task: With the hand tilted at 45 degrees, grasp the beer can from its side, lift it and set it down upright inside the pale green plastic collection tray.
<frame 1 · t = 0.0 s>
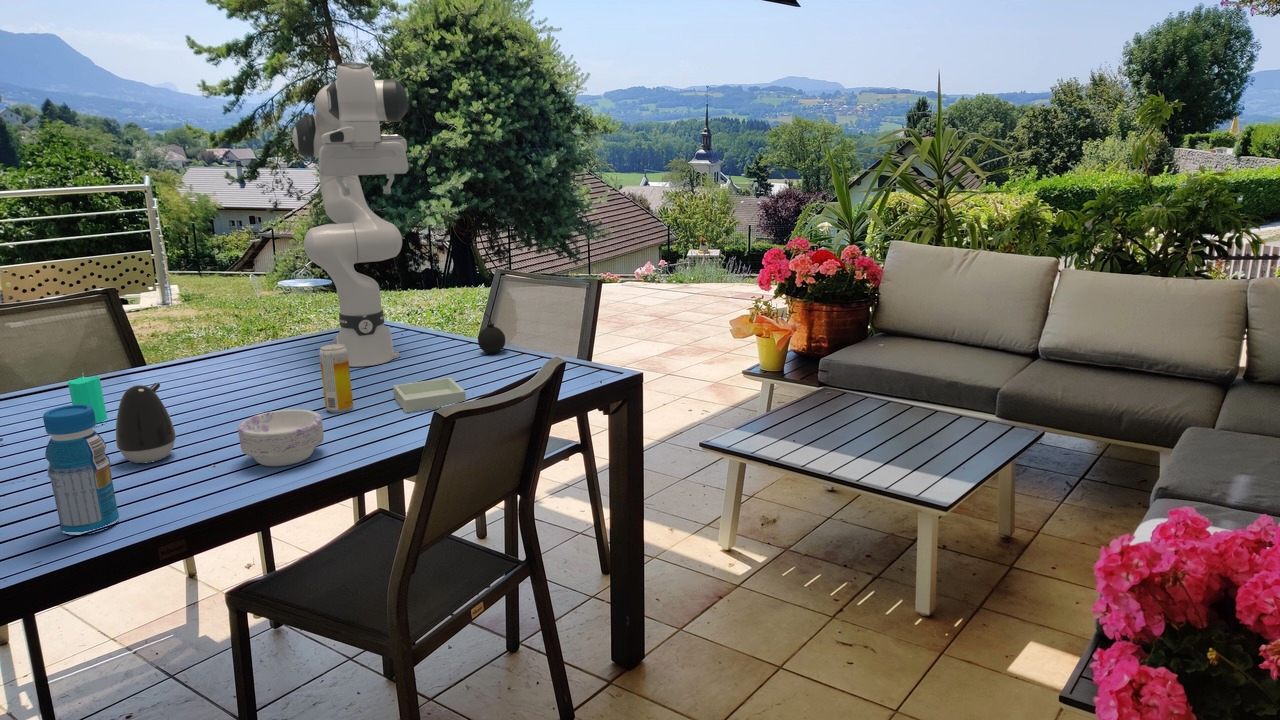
hand: (367, 194, 204), 48 cm above the table, tool pointing down, fingers open, 8 cm apart
pump dispenser: (150, 459, 169), on the table
beer can: (339, 410, 199), on the table
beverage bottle: (91, 527, 140), on the table
bomb: (492, 354, 248), on the table
paper bowls: (285, 459, 168), on the table
tray: (429, 400, 204), on the table
candle: (92, 425, 192), on the table
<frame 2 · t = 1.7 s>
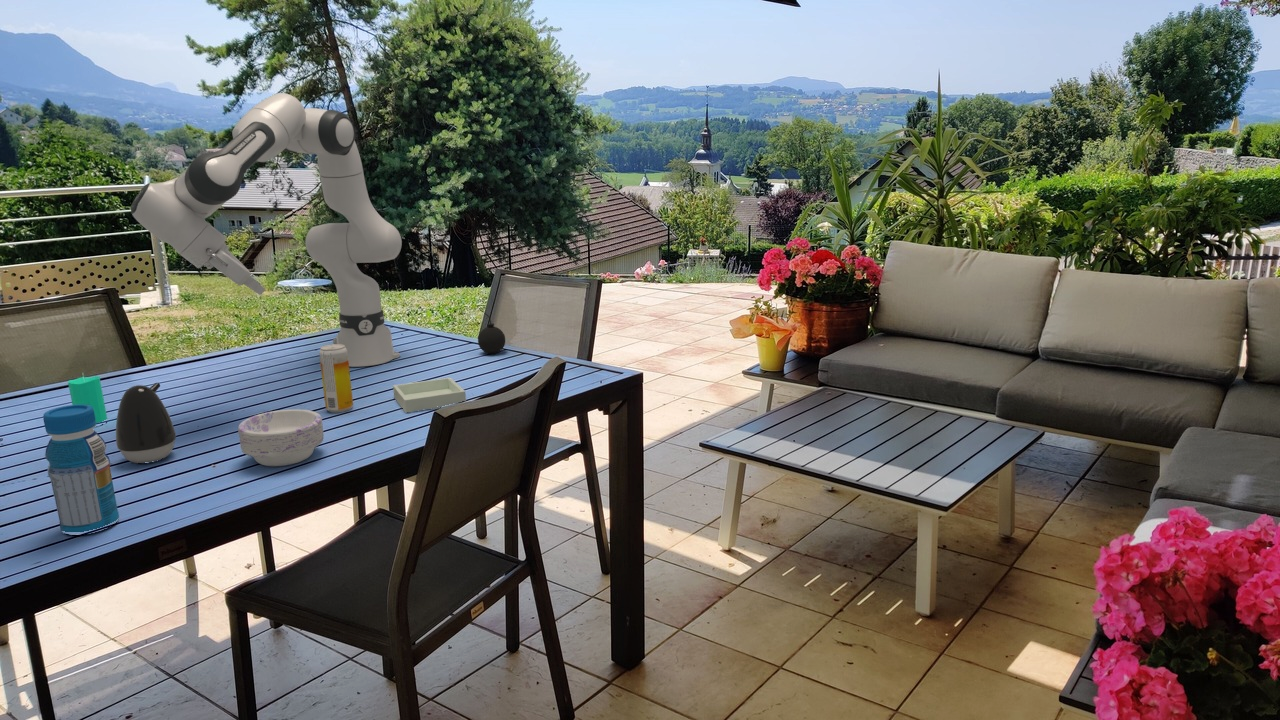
hand: (260, 289, 189), 29 cm above the table, tool tilted 45°, fingers open, 8 cm apart
nothing on the table moved.
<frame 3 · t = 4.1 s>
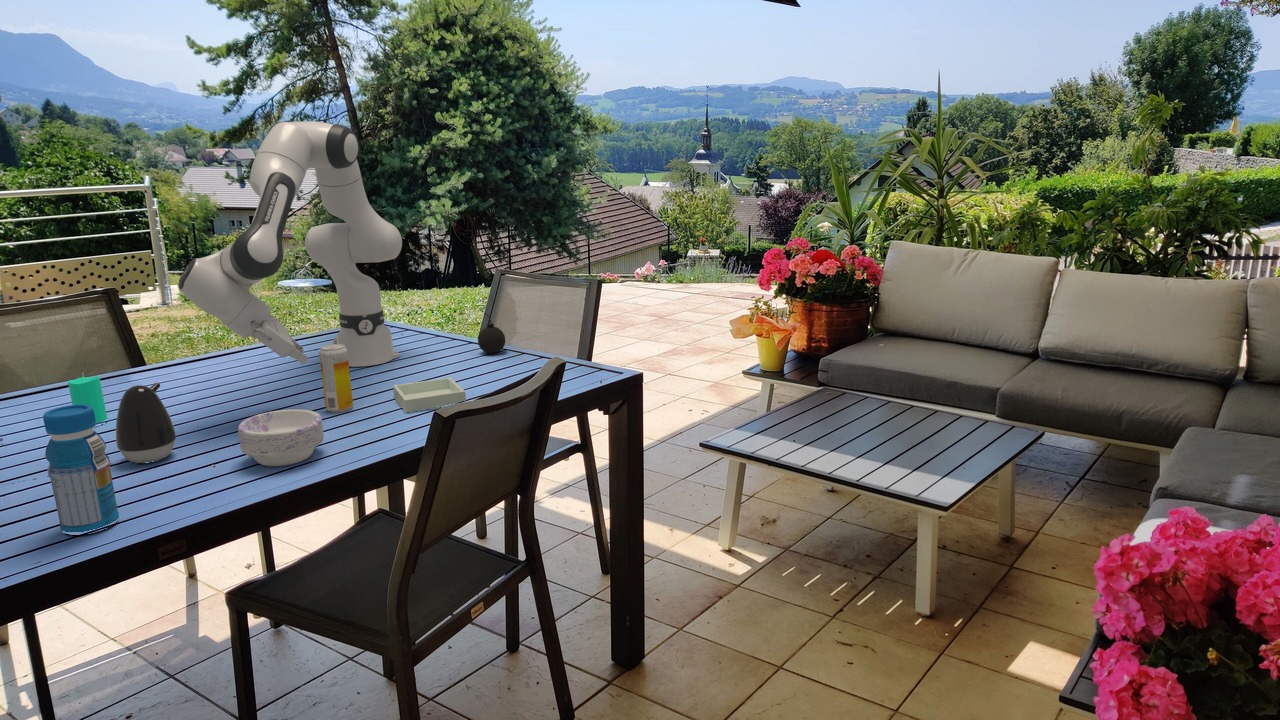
hand: (303, 356, 193), 14 cm above the table, tool tilted 45°, fingers open, 8 cm apart
nothing on the table moved.
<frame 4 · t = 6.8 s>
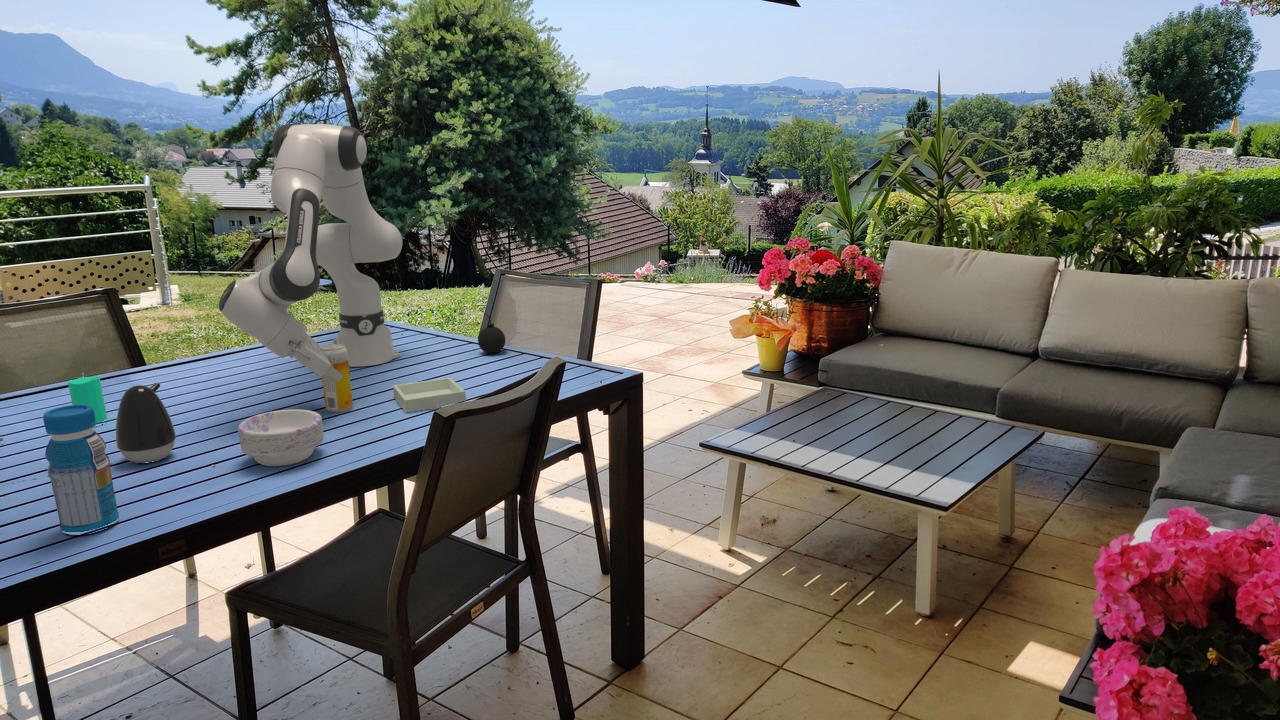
hand: (338, 374, 197), 8 cm above the table, tool tilted 45°, fingers closed on beer can, 6 cm apart
beer can: (339, 410, 199), on the table, touching gripper
everything else where it was.
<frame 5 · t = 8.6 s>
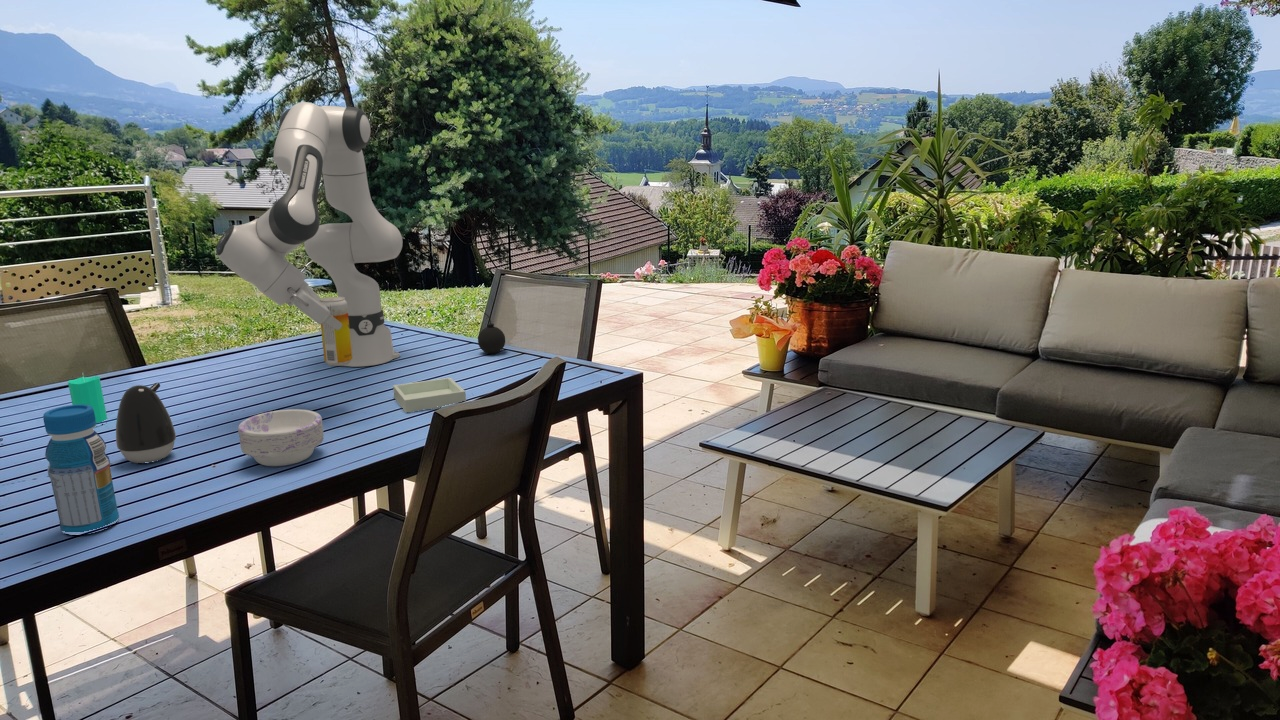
hand: (338, 324, 194), 20 cm above the table, tool tilted 45°, fingers closed on beer can, 6 cm apart
beer can: (339, 363, 196), point 11 cm above the table, touching gripper
everything else where it was.
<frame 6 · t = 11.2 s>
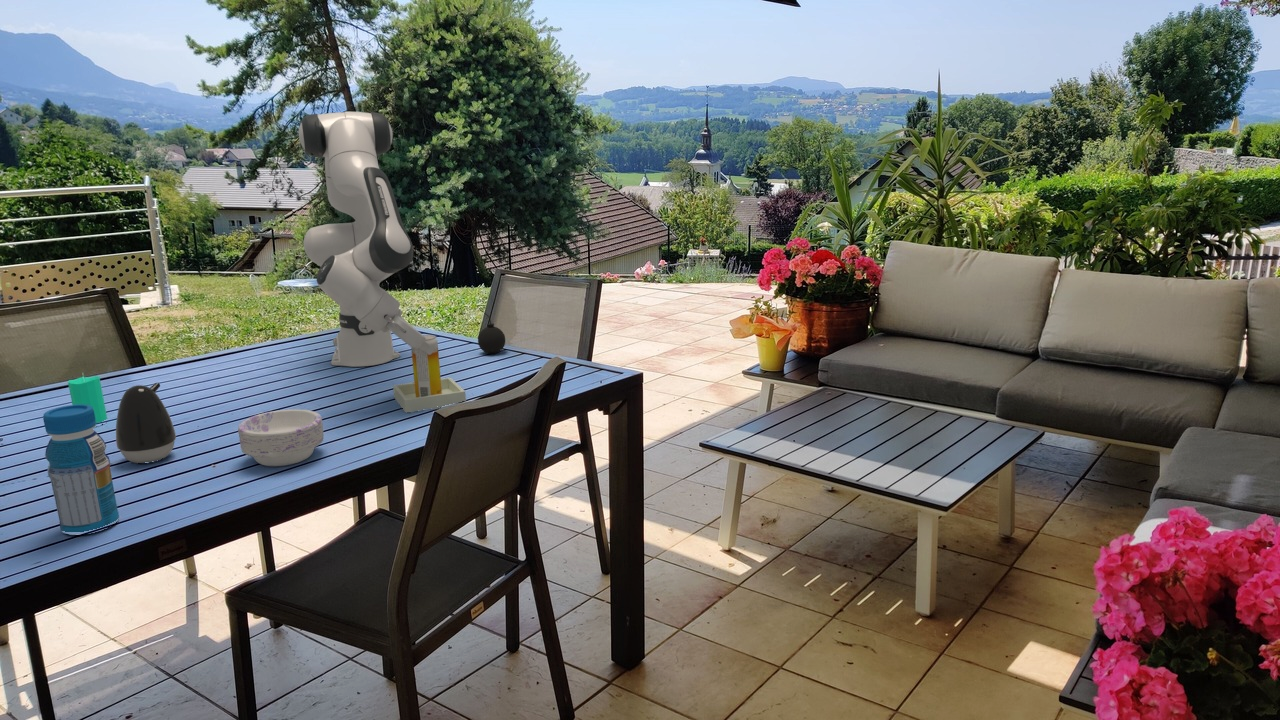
hand: (428, 349, 201), 13 cm above the table, tool tilted 45°, fingers closed on beer can, 6 cm apart
beer can: (429, 399, 203), resting on tray, touching gripper
everything else where it was.
when the fingers open (10 cm above the table, at t = 12.6 s): beer can stays where it is, resting on tray.
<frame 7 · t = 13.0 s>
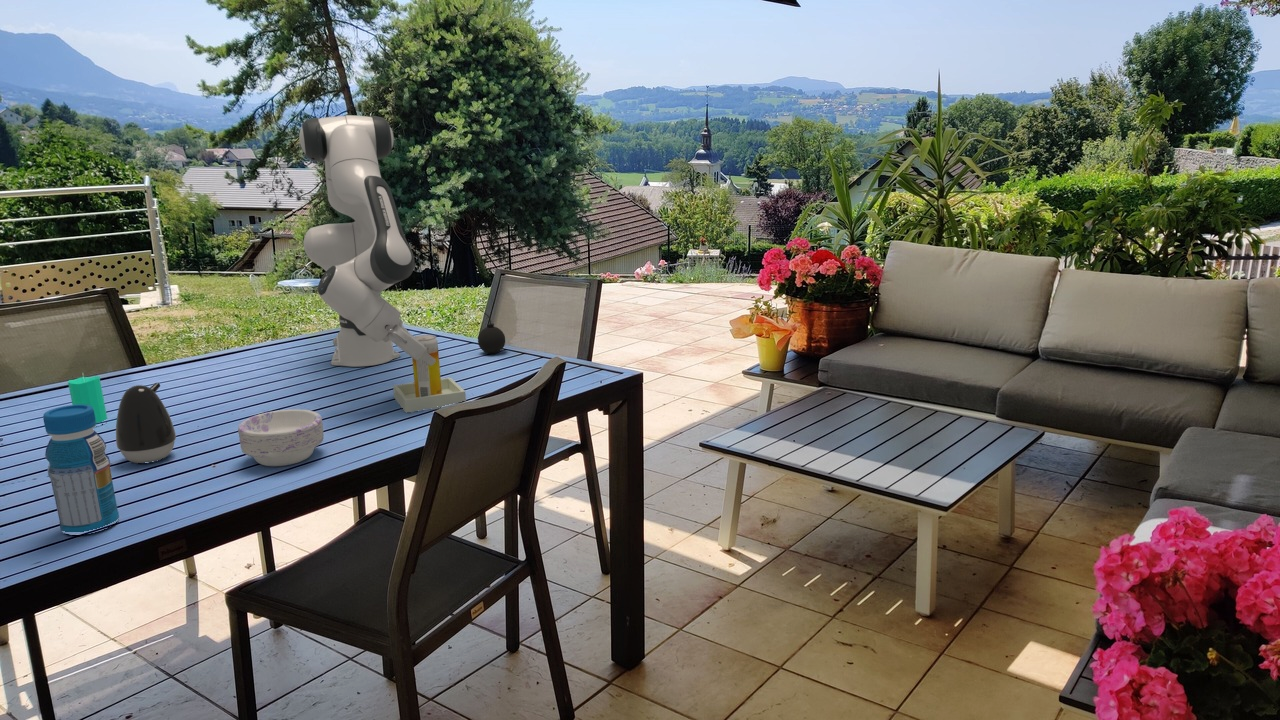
hand: (428, 358, 201), 10 cm above the table, tool tilted 45°, fingers open, 8 cm apart
beer can: (429, 399, 203), resting on tray
everything else where it was.
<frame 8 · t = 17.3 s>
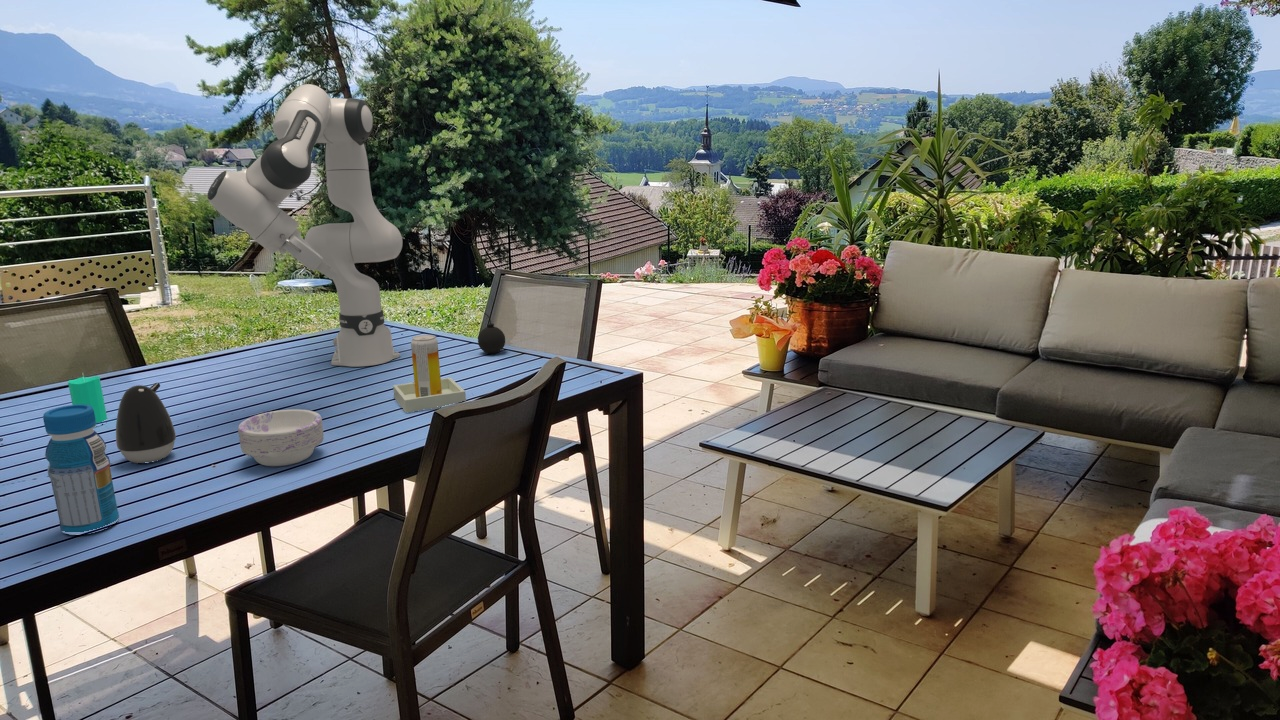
hand: (331, 273, 193), 31 cm above the table, tool tilted 45°, fingers open, 8 cm apart
nothing on the table moved.
at the end: beer can inside the target area on the tray (0.1 cm from its centre), point 0.4 cm above the tray's base; beer can tilted 0°; the gripper is holding nothing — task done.
